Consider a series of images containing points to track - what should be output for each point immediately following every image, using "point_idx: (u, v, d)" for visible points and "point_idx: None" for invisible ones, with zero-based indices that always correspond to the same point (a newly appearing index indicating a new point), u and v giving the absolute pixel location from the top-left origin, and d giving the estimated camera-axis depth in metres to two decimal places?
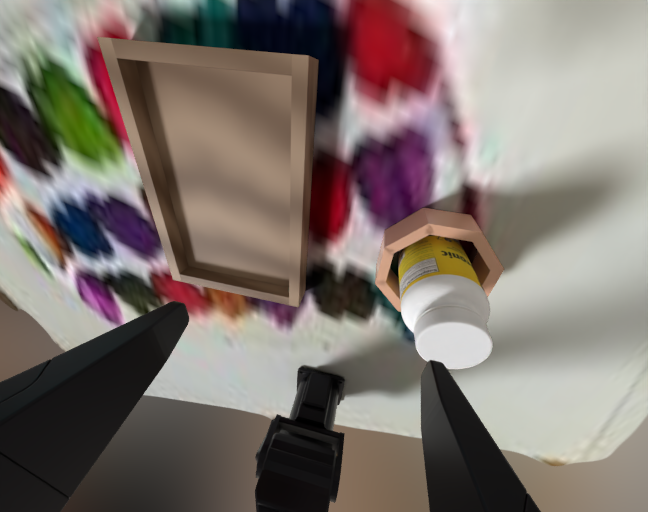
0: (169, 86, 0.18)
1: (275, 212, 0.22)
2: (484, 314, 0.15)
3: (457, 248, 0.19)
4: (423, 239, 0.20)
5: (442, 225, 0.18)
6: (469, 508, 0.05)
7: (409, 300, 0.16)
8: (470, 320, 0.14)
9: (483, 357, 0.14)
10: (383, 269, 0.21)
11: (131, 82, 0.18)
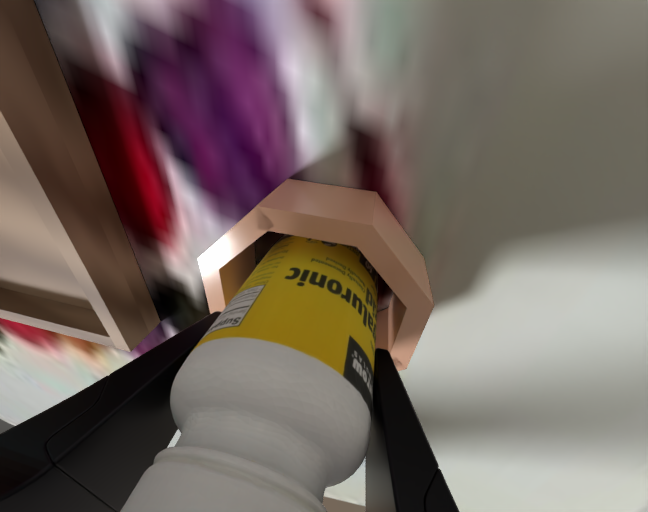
0: None
1: None
2: (340, 454, 0.05)
3: (339, 260, 0.09)
4: (285, 241, 0.10)
5: (286, 210, 0.08)
6: (384, 483, 0.05)
7: (170, 398, 0.06)
8: None
9: None
10: (214, 299, 0.11)
11: None
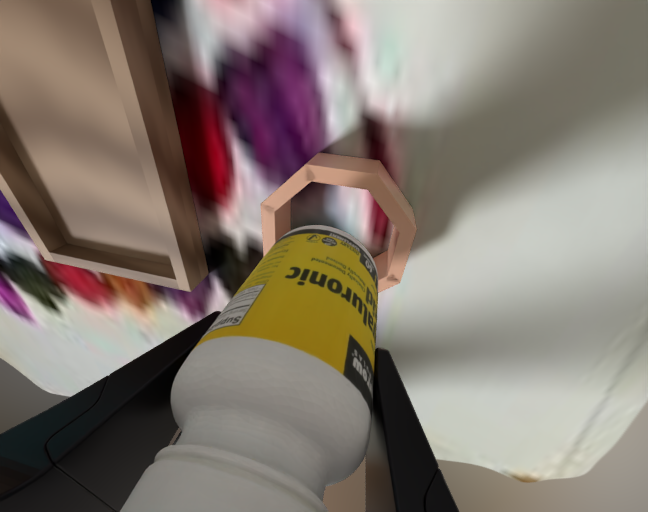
0: None
1: (138, 165, 0.17)
2: (340, 453, 0.05)
3: (339, 260, 0.09)
4: (285, 241, 0.10)
5: (324, 166, 0.13)
6: (384, 483, 0.05)
7: None
8: None
9: None
10: (268, 236, 0.15)
11: None
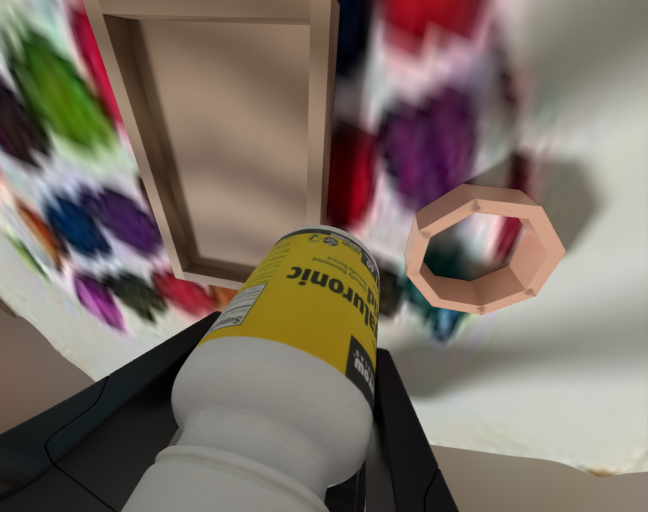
0: (165, 49, 0.16)
1: (288, 196, 0.19)
2: (342, 454, 0.05)
3: (340, 260, 0.09)
4: (286, 240, 0.10)
5: (491, 200, 0.15)
6: (384, 483, 0.05)
7: (171, 397, 0.06)
8: None
9: None
10: (416, 257, 0.18)
11: (121, 45, 0.16)
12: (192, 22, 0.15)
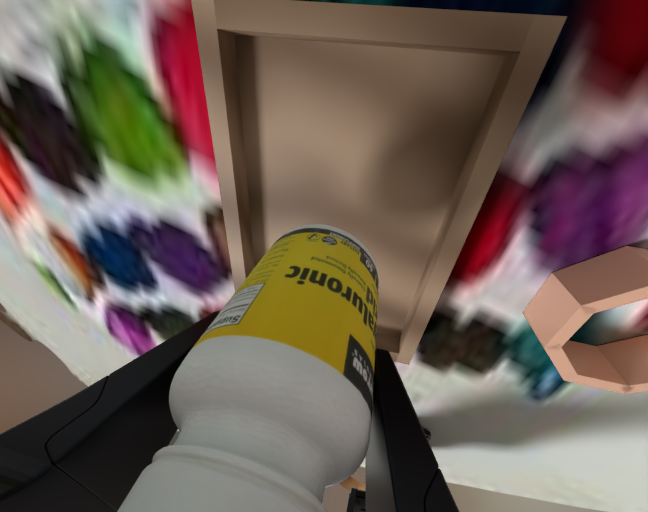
0: (281, 74, 0.13)
1: (401, 248, 0.16)
2: (340, 453, 0.05)
3: (339, 259, 0.09)
4: (285, 240, 0.10)
5: None
6: (384, 483, 0.05)
7: (169, 397, 0.06)
8: None
9: None
10: (565, 331, 0.15)
11: (228, 68, 0.12)
12: (328, 43, 0.11)
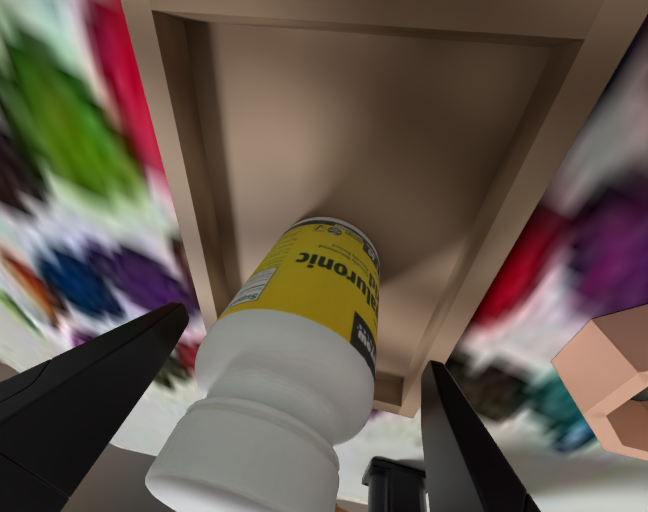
0: (248, 73, 0.10)
1: (404, 288, 0.13)
2: (347, 410, 0.06)
3: (344, 247, 0.10)
4: (294, 231, 0.11)
5: None
6: (469, 508, 0.05)
7: (195, 365, 0.07)
8: (242, 469, 0.04)
9: None
10: (613, 400, 0.12)
11: (176, 65, 0.09)
12: (308, 31, 0.08)
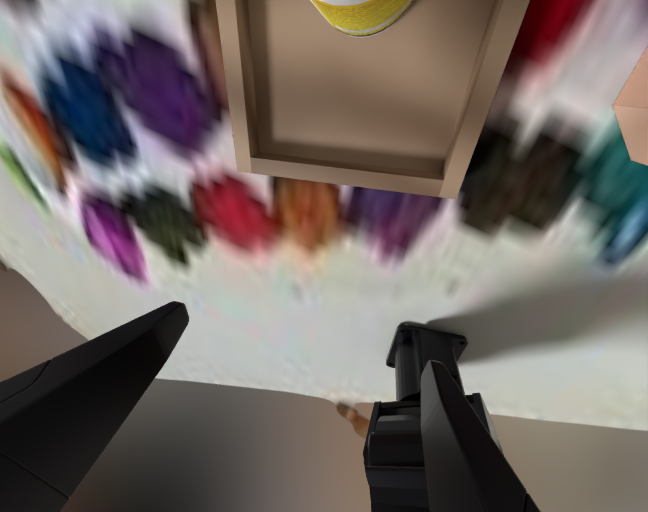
0: None
1: None
2: None
3: None
4: None
5: None
6: (469, 508, 0.05)
7: None
8: None
9: None
10: None
11: None
12: None
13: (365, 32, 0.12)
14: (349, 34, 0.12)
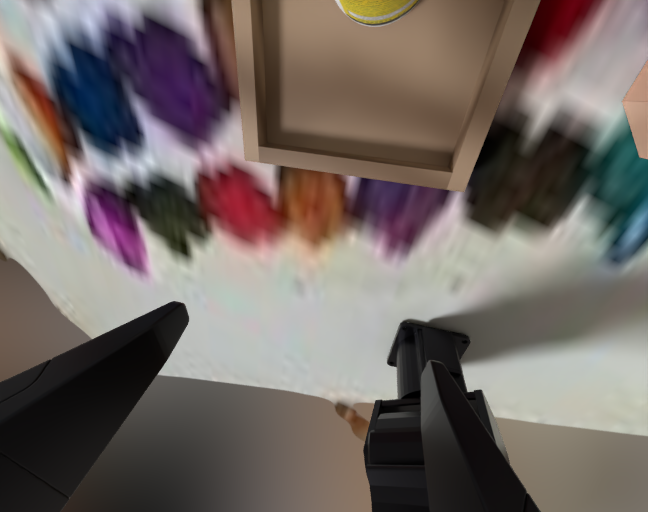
0: None
1: None
2: None
3: None
4: None
5: None
6: (469, 508, 0.05)
7: None
8: None
9: None
10: None
11: None
12: None
13: (379, 20, 0.12)
14: (362, 22, 0.13)
